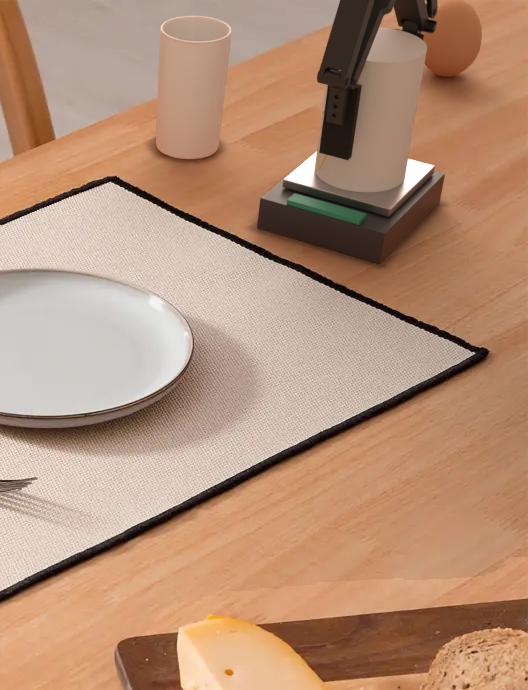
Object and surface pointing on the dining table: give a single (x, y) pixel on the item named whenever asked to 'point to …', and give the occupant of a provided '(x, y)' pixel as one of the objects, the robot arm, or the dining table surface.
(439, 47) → the egg
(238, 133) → the dining table surface
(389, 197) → the scale pan
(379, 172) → the white cylinder
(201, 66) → the mug
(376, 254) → the scale
